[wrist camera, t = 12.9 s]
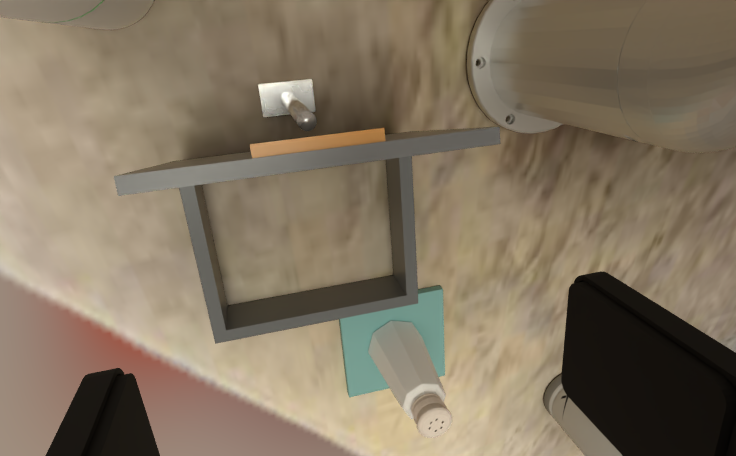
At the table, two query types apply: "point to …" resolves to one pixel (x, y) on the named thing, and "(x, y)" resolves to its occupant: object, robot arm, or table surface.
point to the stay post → (290, 101)
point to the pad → (361, 327)
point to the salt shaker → (411, 376)
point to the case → (318, 302)
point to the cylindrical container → (78, 12)
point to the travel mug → (576, 422)
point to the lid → (303, 156)
